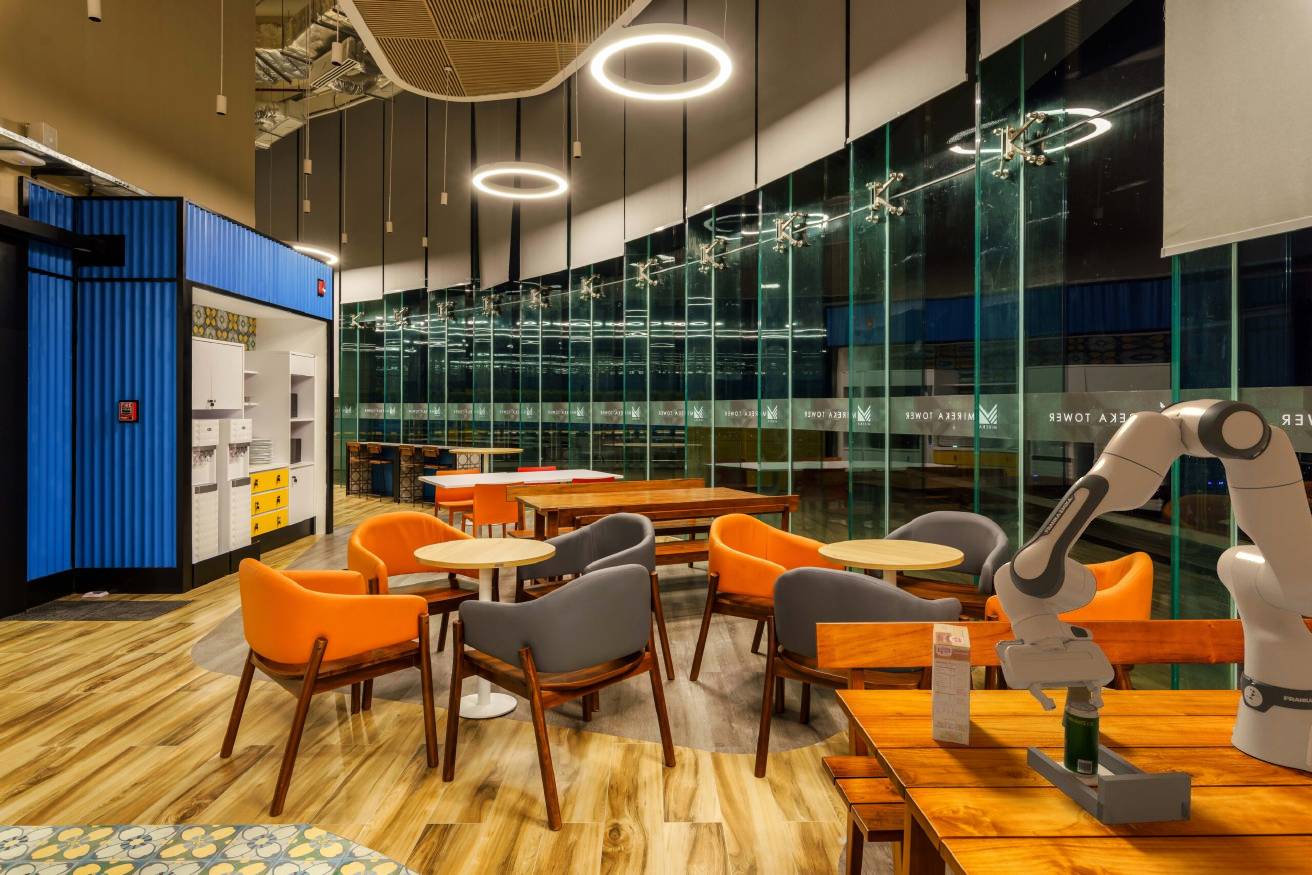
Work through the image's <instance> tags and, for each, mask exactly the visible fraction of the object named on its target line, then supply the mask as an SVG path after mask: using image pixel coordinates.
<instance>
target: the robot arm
mask: <svg viewBox="0 0 1312 875" xmlns="http://www.w3.org/2000/svg"><path fill="white" fill-rule="evenodd" d="M1182 455H1187V456H1190V457H1191V456H1192V457H1195V458H1197V457H1198V458H1218V459H1219V460H1220V461H1221V462H1222V465H1223V466H1224V469H1225V476H1226V482H1227V487H1228V492H1229V497H1230V501H1231V506H1232V512H1233V516H1234V520H1235V523H1236V525H1237V526H1238V528H1239V529H1240V530H1242V532H1244V533H1245V534H1246V535H1247V536H1248V537H1249V538H1250V539H1251V540H1252V542H1253V543H1254V545H1253V544H1248V545H1247V544H1246V545H1245V544H1244V545H1243V544H1242V545H1241V544H1240V545H1236V546H1234V545H1233V546H1232V547H1228V549H1226V550H1225V551H1223V553H1221V555H1220V556H1219V558H1218V561H1217V564H1216V565H1217V566H1216V572H1217V575H1218V578H1219V580H1220V582H1221V583H1222V584H1223V585H1224V586H1225V587H1226V589H1227V590H1228V592H1229V593H1230V595H1231V596H1232V599H1233V601H1234V603H1235V606H1236V608H1237V612H1238V614H1239V618H1240V620H1241V626H1242V629H1243V635H1244V663H1243V664H1244V667H1243V668H1244V670H1243V671H1242V672H1241V675H1240V691H1241V696H1240V697H1239V703H1238V708H1237V715H1236V721H1235V725H1234V726H1232V730H1231V733H1232V735H1231V738H1230V743H1231V744H1232V745H1233V746H1234V747H1235V748H1237V749H1238V750H1240V751H1242V752H1243V753H1246V754H1248V755H1250V756H1253V757H1254V758H1257V759H1260V760H1263V761H1266V762H1269V763H1272V764H1275V765H1280V766H1284V767H1287V768H1288V767H1289V768H1293V769H1297V770H1298V769H1299V770H1304V771H1306V772H1310V773H1312V632H1311V631H1310V630H1309V628H1308V627H1307V625H1306V623H1305V622H1304V620H1303V617H1302V616H1304V617H1307V618H1312V514H1311V509H1310V505H1309V502H1308V501H1309V500H1308V498H1307V493H1306V489H1305V484H1304V480H1303V478H1304V477H1303V474H1302V470H1301V467H1300V464H1299V460H1298V457H1297V454H1296V451H1295V450H1294V447H1293V444H1292V442H1291V441H1290V438H1289V436H1288V435H1287V433H1286V432H1285V431H1284V430H1283V429H1282V428H1280V427H1278V426H1275V425H1271V424H1268V421H1267V420H1266V418H1265V416H1264V415H1263V413H1262V412H1260V410H1259V409H1257V408H1256V407H1255V406H1253V405H1252V404H1249V403H1246V402H1243V401H1238V400H1232V399H1228V400H1227V399H1226V400H1225V399H1214V398H1213V399H1212V398H1203V399H1202V398H1201V399H1197V400H1181V401H1176V402H1173V403H1170V404H1168V405H1165V406H1164V407H1162V408H1160V409H1159V410H1158V411H1157V412H1156V411H1145V410H1144V411H1138V412H1135V413H1133V414H1132V415H1130V416H1129V417H1128V418H1127V419H1126V420H1125V421H1124V422H1123V424H1122V425H1121V426H1120V427H1119V428H1118V430H1117V431H1116V432H1115V433H1114V435H1113V436H1112V437H1111V439H1110V440H1109V442H1108V443H1107V445H1106V446H1105V447H1104V449H1103V451H1102V452H1101V454H1100V456H1099V458H1098V459H1097V460H1096V462H1095V463H1094V465H1093V466H1092V468H1090V470H1089V471H1088V472H1087V473H1086V474H1085V475H1084V476H1082V477H1081V478H1079V479H1077V481H1075V483H1074V484H1073V485H1072V486H1071V487H1070V488H1069V489H1068V490H1067V492H1065V494H1064V496H1063V497H1062V498H1061V499H1060V501H1059V502H1058V503H1057V505H1056V506H1055V507H1054V509H1053V510H1052V512H1051V513H1050V514H1049V516H1048V517H1047V518H1046V520H1045V521H1044V522H1043V524H1042V525H1041V526H1040V528H1039V529H1038V531H1036V533H1035V534H1034V535H1033V536H1032V537H1031V538H1030V539H1029V540H1028V541H1026V543H1024V544H1023V545H1022V546H1020V547H1019V548H1018V549H1017V550H1016V552H1015V553H1014V554H1013V556H1012V557H1011V560H1010V561H1008V562H1007V563H1005V564H1003V565H1002V566H1001V567H999V568H998V569H997V571H996V572H995V573H994V577H993V584H994V589H995V593H996V595H997V598H998V602H999V604H1000V606H1001V609H1002V611H1003V613H1004V615H1005V616H1006V617H1007V618H1008V620H1009V622H1010V624H1011V632H1012V634H1013V635H1014V637H1015V639H1010V640H1006V639H1003V640H1002V639H1001V640H999V642H997V643H996V644H995V647H994V650H995V653H996V655H997V657H998V659H999V660H1000V661H999V662H1000V665H1001V669H1002V674H1003V677H1004V680H1005V682H1006V684H1007V686H1008V687H1010V688H1011V689H1012V690H1027V689H1028V691H1029V693H1030V695H1031V696H1032V697H1033V698H1035V699H1036V700H1037V701H1038V702H1039V703H1040V704H1041V706H1042V709H1043V710H1044V711H1045V712H1051V711H1052V712H1053V711H1055V710H1056V708H1057V705H1056V703H1055V700H1054V698H1053V697H1049V696H1047V694H1045V693H1044V692H1043V691H1042V689H1053V688H1054V689H1055V688H1067V687H1081V686H1087V688H1088V690H1089V691H1092V692H1091V699H1089V700H1088V701H1089V703H1090V704H1092V705H1094V706H1096V707H1097V708H1098V710H1099V709H1103V708H1104V707H1105V703H1104V700H1103V698H1102V697H1101V696H1102V687H1103V686H1107V685H1108V684H1109V683H1110V682H1112V681H1113V680H1114V678H1115V671H1114V669H1113V666H1112V664H1111V662H1110V661H1109V659H1108V657H1107V656H1106V654H1105V651H1104V650H1102V648H1101V647H1100V646H1099V645H1098V644H1097V643H1096V642H1094V641H1092V640H1093V639H1094V635H1093V633H1092V631H1091V630H1090V629H1088V628H1086V627H1082V626H1077V625H1073V624H1070V623H1067V622H1066V621H1065V622H1064V621H1062V620H1061V621H1060V619H1059V615H1061V614H1066V613H1070V612H1073V611H1076V610H1079V609H1081V608H1084V607H1086V606H1088V605H1089V604H1090V603H1091V602H1092V601H1093V600H1094V598H1095V596H1096V594H1097V590H1098V582H1097V581H1098V580H1097V578H1096V576H1095V574H1094V573H1093V571H1092V570H1091V569H1090V568H1089V567H1087V566H1085V565H1084V564H1082V563H1080V562H1078V561H1077V560H1075V559H1073V558H1071V557H1069V556H1068V555H1069V553H1070V551H1071V549H1072V548H1073V546H1074V545H1075V544H1076V542H1077V541H1078V539H1079V538H1080V537H1081V536H1082V534H1083V533H1084V531H1085V530H1086V528H1088V526H1089V524H1090V523H1091V521H1093V520H1094V519H1095V518H1097V517H1098V516H1100V515H1102V514H1105V513H1109V512H1113V511H1114V512H1115V511H1116V512H1118V511H1121V512H1122V511H1131V510H1134V509H1135V510H1136V509H1137V508H1138V509H1139V508H1141V507H1144V505H1145V504H1146V503H1148V501H1150V499H1151V498H1152V497H1153V496H1155V494H1156V492H1157V490H1158V489H1159V488H1160V486H1161V484H1162V482H1163V480H1164V479H1165V477H1166V475H1167V473H1168V472H1169V470H1170V468H1171V466H1172V465H1173V463H1174V462H1175V461H1176V460H1177V459H1178V458H1179V457H1180V456H1182Z"/></svg>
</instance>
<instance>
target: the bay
mask: <svg viewBox="0 0 1312 875" xmlns="http://www.w3.org/2000/svg"><path fill="white" fill-rule="evenodd" d="M1026 764H1027V765H1028V766H1030V767H1031V768H1032V769H1033V770H1034V771H1036V772H1037V773H1038V774H1040V775H1041V776H1042V777H1043V778H1044V779H1046V780H1047V781H1048V782H1050V783H1051V784H1052V785H1054V787H1056V788H1057V789H1058V790H1060V791H1061V792H1062V793H1064V794H1065V795H1066V796H1067V795H1068V796H1067V797H1069V796H1070V797H1071V798H1072V799H1073V800H1072V799H1071V798H1070V797H1069V798H1070V799H1071V800H1072V801H1074V802H1075V803H1076V802H1077V803H1076V804H1078V805H1079V806H1080V807H1082V809H1083V810H1085V811H1087V812H1088V813H1089V814H1090V815H1091V816H1092V817H1094V818H1095V819H1097V820H1098V821H1099V822H1100V823H1102V824H1103V825H1116V824H1135V823H1139V824H1140V823H1154V822H1155V823H1157V822H1174V821H1175V822H1176V821H1190V820H1191V805H1192V803H1191V801H1192V799H1191V798H1192V776H1191V775H1190V774H1187V772H1184V771H1173V772H1155V773H1154V772H1151V773H1149V772H1148V773H1147V772H1146V771H1144V770H1143V769H1141V768H1140V767H1138V766H1136V765H1135V764H1133V763H1131V762H1130V761H1129V760H1127V759H1125V758H1123V757H1122V756H1121V755H1119V754H1117V753H1116V752H1114V751H1113V750H1111V749H1110V748H1108V747H1107V746H1105V745H1103V744H1102V743H1101V744H1100V743H1099V753H1098V773H1097V775H1096V776H1095V777H1094V778H1081V777H1077V776H1074V775H1072V774H1071V773H1070V772H1068V771H1067V770H1066V769H1065V767H1064V761H1055V760H1053V759H1052V758H1051V757H1050V756H1048V755H1047V754H1045V753H1044V752H1043V751H1041V750H1040V749H1038V748H1037V747H1036V746H1033V747H1032V746H1030V747H1028V746H1027V747H1026ZM1090 786H1097V791H1095V789H1093V788H1091V787H1090ZM1172 820H1174V821H1172Z"/></svg>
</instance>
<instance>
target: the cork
mask: <svg viewBox="0 0 1312 875" xmlns="http://www.w3.org/2000/svg"><path fill="white" fill-rule="evenodd" d="M1066 688H1067V692H1066V699H1065V703H1064V711H1063V715H1062V721H1061V725H1062V727H1064V728H1065V708H1066V706H1067V702H1069V701H1081V702H1086V703H1089V701H1088V700H1089V699H1091V698H1092V691H1089V690H1088V688H1087V686H1081V687H1066Z"/></svg>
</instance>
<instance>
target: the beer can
mask: <svg viewBox="0 0 1312 875" xmlns="http://www.w3.org/2000/svg"><path fill="white" fill-rule="evenodd" d="M1064 708H1065V707H1064ZM1100 715H1101V714H1100V713H1099V709H1098V708H1097V707H1096V706H1094V705H1092V704H1090V703H1086V702H1081V701H1069V702H1067V706H1066V708H1065V727H1064V740H1063V741H1064V742H1063V762H1064V767H1065V769H1066V770H1067V771H1068V772H1070V773H1071V774H1072V775H1074V776H1077V777H1081V778H1094V777H1095V776H1096V775H1097V773H1098V753H1099V744H1100V743H1099V742H1100Z"/></svg>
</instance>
